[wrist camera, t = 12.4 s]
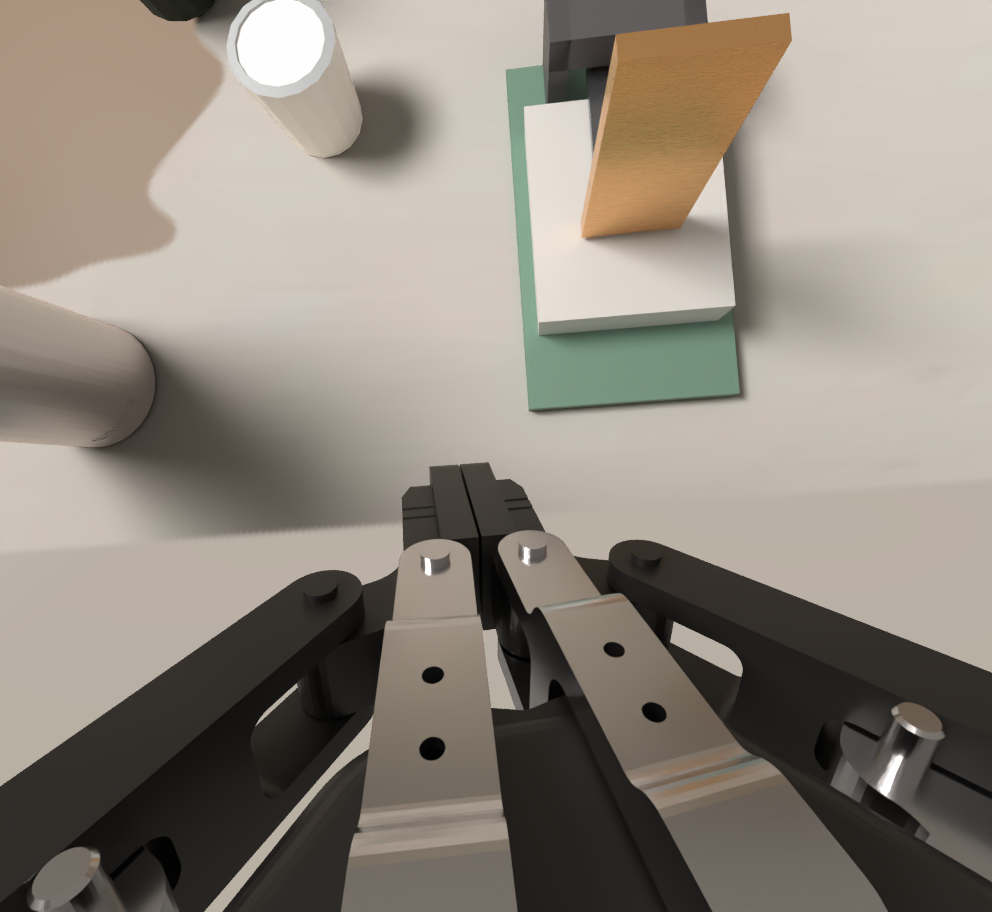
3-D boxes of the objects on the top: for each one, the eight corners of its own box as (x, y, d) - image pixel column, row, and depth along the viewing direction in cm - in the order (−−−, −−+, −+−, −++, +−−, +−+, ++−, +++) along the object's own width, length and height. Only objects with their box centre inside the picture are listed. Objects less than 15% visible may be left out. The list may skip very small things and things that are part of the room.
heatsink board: (733, 395, 35) (787, 374, 28) (528, 410, 36) (527, 393, 29) (705, 57, 36) (749, -52, 29) (506, 80, 37) (499, -19, 30)
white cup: (299, 180, 38) (247, 114, 31) (268, 98, 39) (209, 14, 32) (384, 143, 38) (350, 68, 31) (352, 61, 38) (311, -32, 31)
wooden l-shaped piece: (680, 228, 32) (791, 40, 18) (581, 237, 32) (618, 61, 18) (664, 32, 32) (760, -295, 19) (567, 44, 33) (592, -267, 19)
